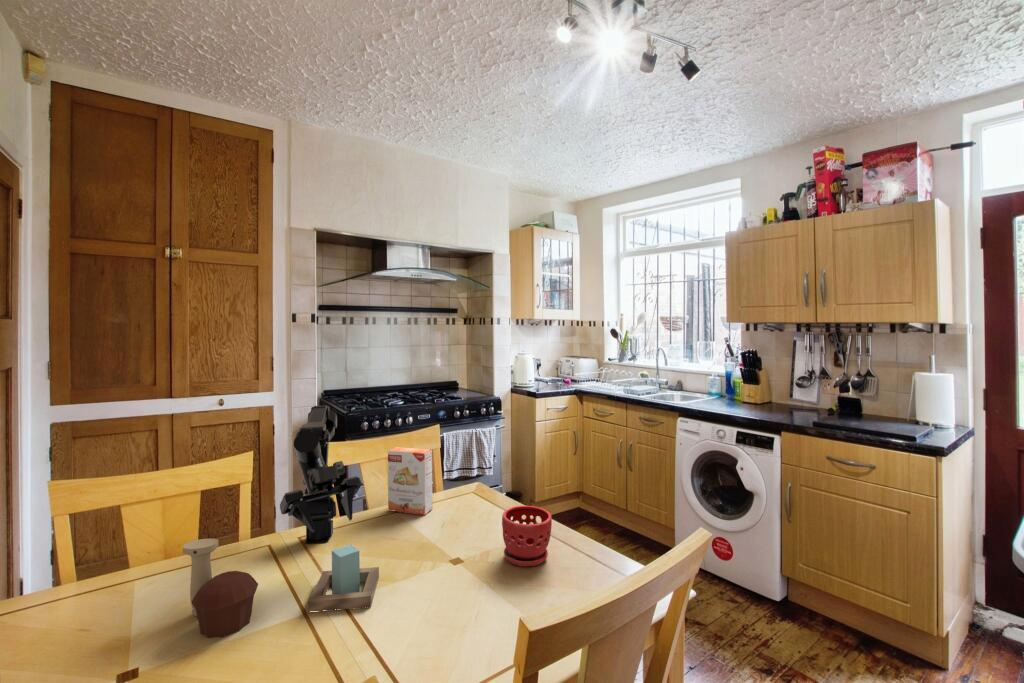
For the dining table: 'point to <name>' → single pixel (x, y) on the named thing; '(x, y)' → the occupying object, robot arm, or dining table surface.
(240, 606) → the muffin
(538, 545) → the plant pot
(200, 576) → the handle
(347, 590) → the peg
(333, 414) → the robot arm
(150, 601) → the dining table surface
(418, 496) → the cracker box
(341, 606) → the socket collar
